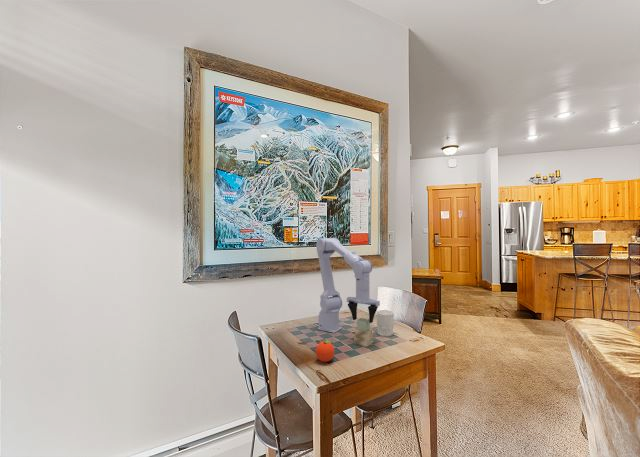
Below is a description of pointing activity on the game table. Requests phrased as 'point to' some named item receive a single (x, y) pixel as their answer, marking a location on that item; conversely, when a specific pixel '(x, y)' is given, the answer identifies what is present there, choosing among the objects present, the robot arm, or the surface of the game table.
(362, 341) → the slab lower
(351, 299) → the robot arm
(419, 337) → the game table surface
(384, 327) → the white cup
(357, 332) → the slab upper
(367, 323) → the cube
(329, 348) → the clementine
